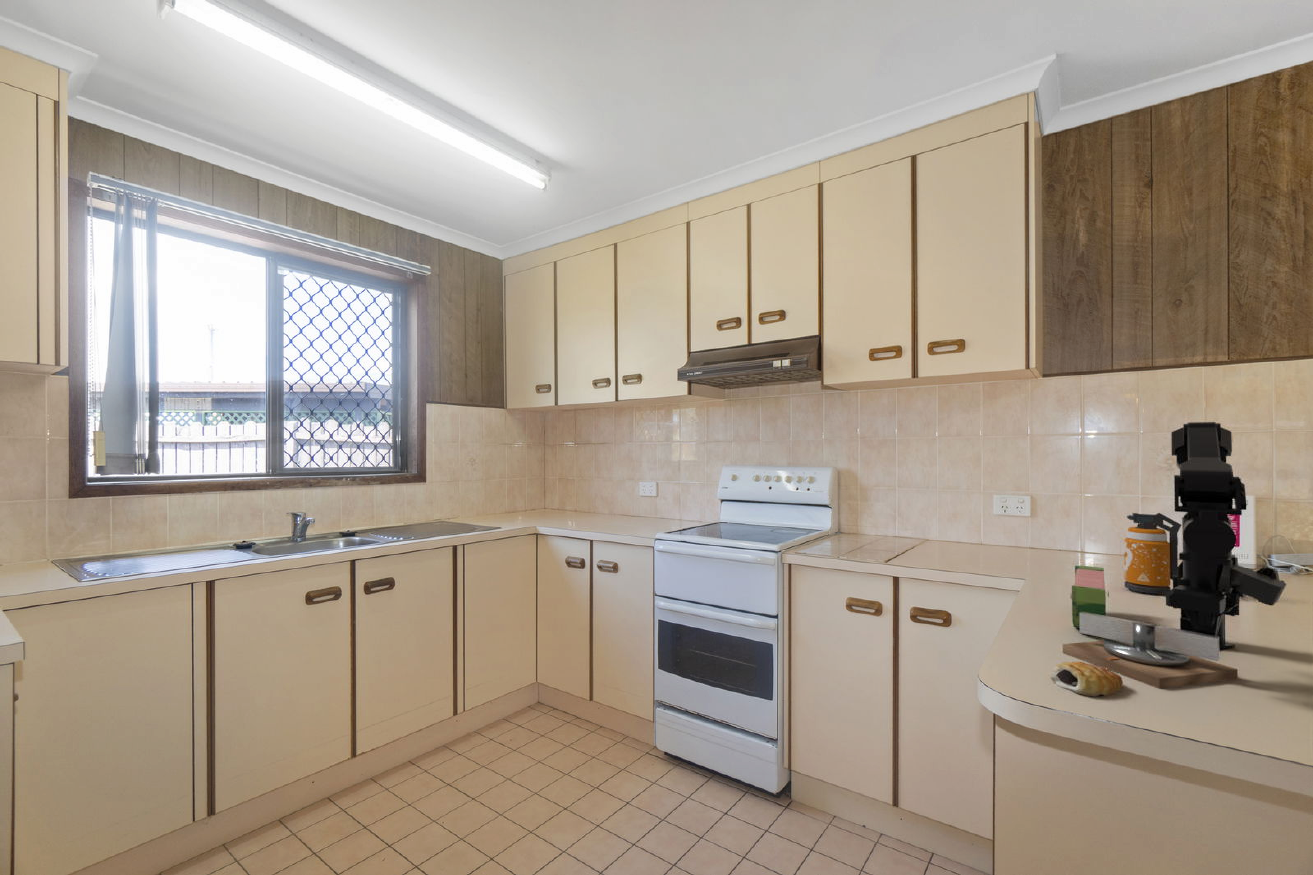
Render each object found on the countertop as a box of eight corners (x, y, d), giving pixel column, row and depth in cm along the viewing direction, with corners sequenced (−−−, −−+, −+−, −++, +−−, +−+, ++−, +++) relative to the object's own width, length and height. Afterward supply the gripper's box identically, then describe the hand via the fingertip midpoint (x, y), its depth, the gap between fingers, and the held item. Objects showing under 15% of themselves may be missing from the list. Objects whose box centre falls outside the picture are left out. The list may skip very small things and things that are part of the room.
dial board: (1133, 645, 109) (1133, 636, 109) (1237, 679, 93) (1237, 668, 93) (1062, 652, 105) (1062, 643, 105) (1159, 688, 89) (1159, 677, 89)
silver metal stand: (1127, 637, 108) (1127, 609, 108) (1226, 670, 92) (1226, 638, 92) (1074, 640, 106) (1074, 611, 106) (1165, 674, 90) (1165, 641, 90)
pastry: (1094, 677, 94) (1094, 653, 94) (1138, 695, 88) (1138, 669, 88) (1045, 682, 92) (1045, 657, 92) (1086, 701, 85) (1086, 674, 85)
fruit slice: (1073, 609, 134) (1072, 564, 134) (1108, 613, 130) (1107, 568, 130) (1069, 638, 113) (1068, 585, 113) (1110, 645, 109) (1110, 590, 109)
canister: (1122, 586, 157) (1121, 510, 157) (1176, 591, 151) (1176, 512, 152) (1127, 593, 149) (1126, 513, 150) (1185, 599, 144) (1184, 515, 144)
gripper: (1266, 563, 83) (1268, 676, 82) (1290, 548, 94) (1293, 647, 93) (1163, 551, 92) (1165, 653, 91) (1197, 539, 103) (1199, 630, 102)
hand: (1208, 646), depth 94 cm, fingers closed
